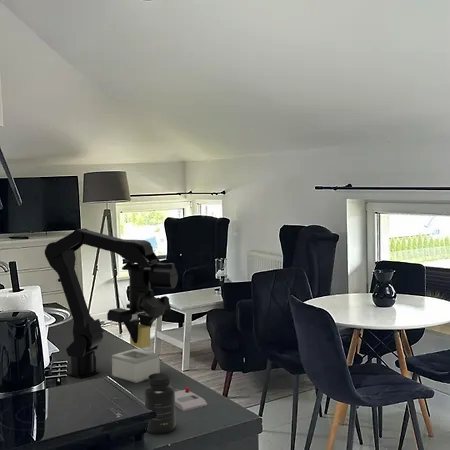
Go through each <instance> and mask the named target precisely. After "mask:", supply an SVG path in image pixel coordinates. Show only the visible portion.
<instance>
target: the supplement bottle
mask: <svg viewBox="0 0 450 450" xmlns="http://www.w3.org/2000/svg"><path fill="white" fill-rule="evenodd" d="M147 380H148V382H147V385H148V387H146V388H145V391H144V392H143V400H144V402H143V403H144V404H143V405H144V406H145V407H144V409H145V408H147V409H149V410H152V411H153V412H155V413H156V415H157V416H156V418H154V419H153V420H152V421H151V422H150V423H149V425H148V429H147V430H146V432H148V433H151V434H154V435H155V434H156V435H162V434H163V435H164V434H167V433H170V432H172V431H173V430H174V429H175V428H176V406H175V392H176V390H175V389H174V388H173V386H171V383H172V382H171V375H170V374H168V373H165V372H160V373H155V374H151V375H150V376H149V377H148V379H147Z"/></svg>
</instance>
